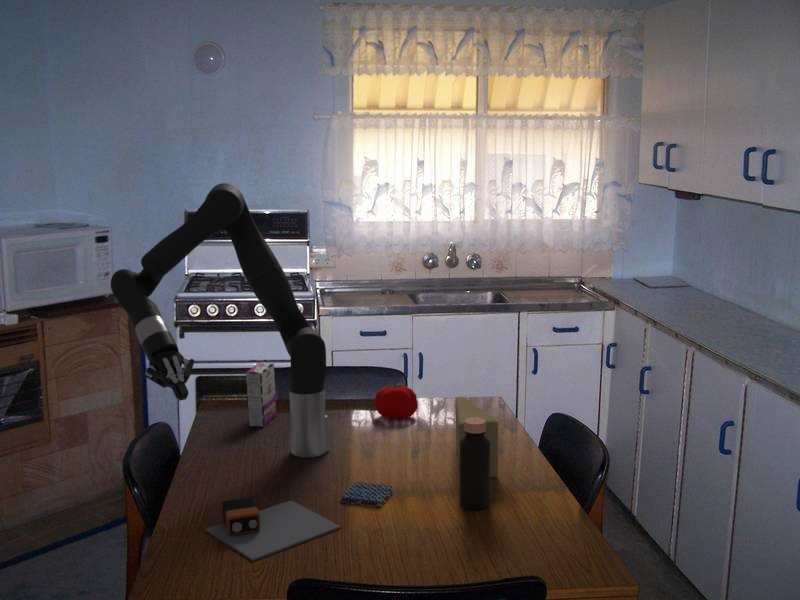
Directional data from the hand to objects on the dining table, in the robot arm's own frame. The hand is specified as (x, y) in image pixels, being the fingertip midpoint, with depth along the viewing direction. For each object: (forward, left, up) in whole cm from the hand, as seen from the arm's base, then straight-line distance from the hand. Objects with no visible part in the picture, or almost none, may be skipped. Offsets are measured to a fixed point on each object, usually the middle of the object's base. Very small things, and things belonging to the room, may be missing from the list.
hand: (184, 398), depth 212 cm
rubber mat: (-2, +33, -22) cm, 40 cm away
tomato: (-71, -6, -23) cm, 75 cm away
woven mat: (-28, +33, -23) cm, 49 cm away
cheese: (-60, +34, -23) cm, 73 cm away
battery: (+1, +23, -20) cm, 30 cm away
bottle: (-43, +53, -23) cm, 72 cm away
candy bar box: (-40, -30, -23) cm, 55 cm away
